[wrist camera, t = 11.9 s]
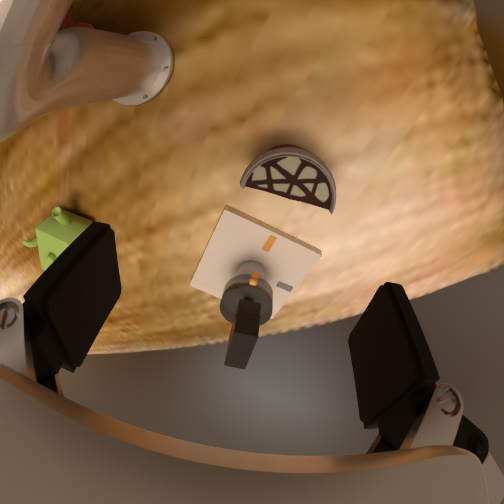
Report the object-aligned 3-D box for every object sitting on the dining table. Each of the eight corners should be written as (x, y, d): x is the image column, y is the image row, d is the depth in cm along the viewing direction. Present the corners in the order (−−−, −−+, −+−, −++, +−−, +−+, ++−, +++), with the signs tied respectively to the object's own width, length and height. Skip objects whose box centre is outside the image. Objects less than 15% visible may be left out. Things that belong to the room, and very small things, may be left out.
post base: (191, 280, 53) (181, 305, 47) (226, 205, 44) (217, 225, 38) (272, 313, 56) (270, 339, 51) (320, 250, 47) (326, 275, 41)
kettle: (81, 268, 55) (56, 299, 46) (47, 221, 49) (17, 247, 39) (118, 245, 50) (90, 280, 41) (79, 189, 44) (42, 215, 34)
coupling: (265, 315, 46) (261, 372, 37) (220, 304, 46) (206, 361, 36) (281, 274, 41) (281, 334, 31) (229, 261, 41) (215, 320, 31)
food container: (337, 151, 37) (354, 170, 29) (323, 187, 41) (335, 215, 32) (256, 127, 36) (250, 138, 28) (246, 165, 40) (237, 188, 31)
